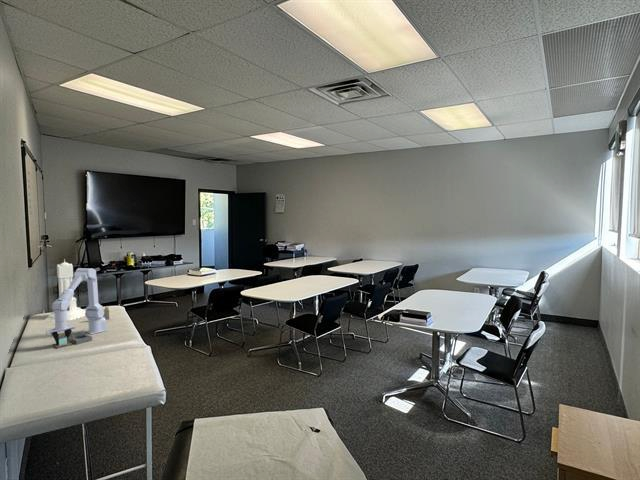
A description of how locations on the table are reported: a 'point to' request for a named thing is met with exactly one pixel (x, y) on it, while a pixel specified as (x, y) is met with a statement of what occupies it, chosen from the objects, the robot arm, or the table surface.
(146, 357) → the table surface
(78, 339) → the port
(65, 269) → the white castle tower
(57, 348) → the brown square frame
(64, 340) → the plug
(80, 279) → the robot arm
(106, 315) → the ruin model on sheet
